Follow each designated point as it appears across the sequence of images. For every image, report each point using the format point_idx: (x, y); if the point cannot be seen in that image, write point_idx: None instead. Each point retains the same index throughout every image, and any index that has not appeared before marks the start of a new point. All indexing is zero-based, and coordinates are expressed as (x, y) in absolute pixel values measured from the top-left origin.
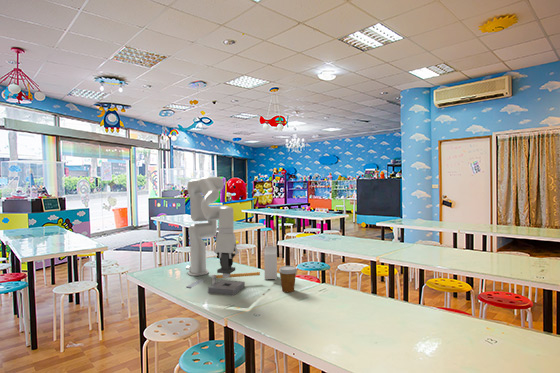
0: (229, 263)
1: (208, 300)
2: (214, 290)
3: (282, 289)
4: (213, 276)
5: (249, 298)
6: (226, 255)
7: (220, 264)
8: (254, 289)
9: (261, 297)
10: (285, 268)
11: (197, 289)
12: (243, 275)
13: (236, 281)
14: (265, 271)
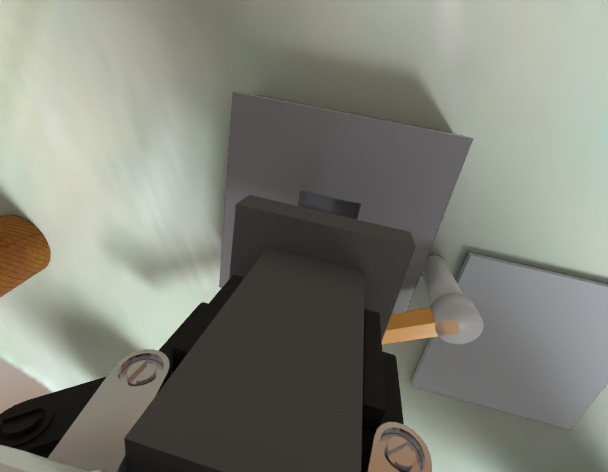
0: (216, 295)
1: (429, 13)
2: (406, 125)
3: (30, 233)
4: (461, 305)
5: (154, 99)
6: (191, 422)
7: (379, 321)
8: (185, 259)
9: (96, 125)
10: None
11: (564, 259)
12: None
13: None
14: None
